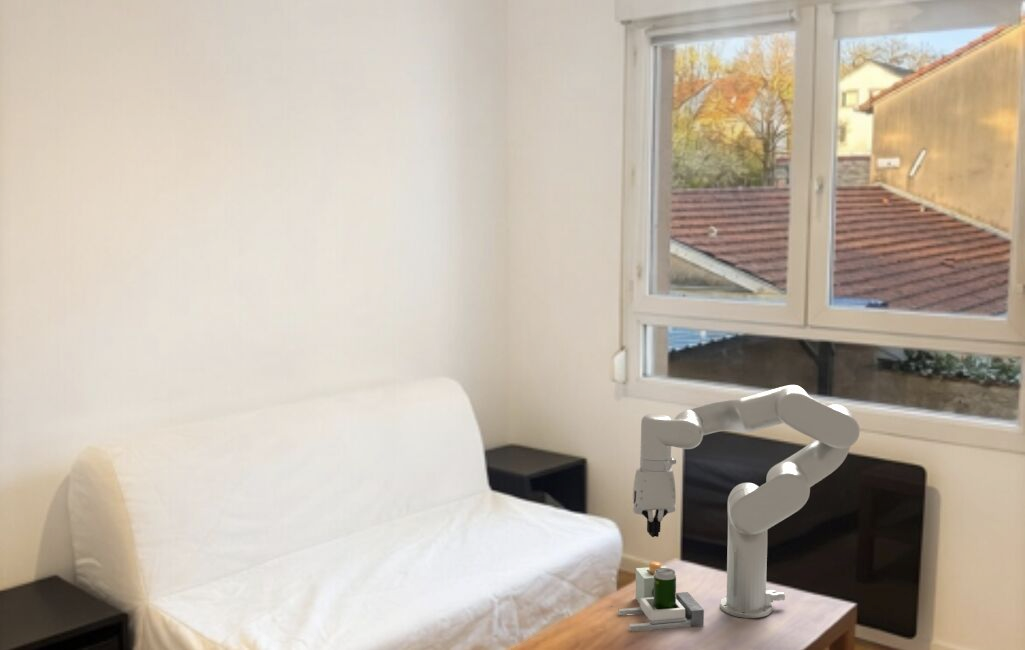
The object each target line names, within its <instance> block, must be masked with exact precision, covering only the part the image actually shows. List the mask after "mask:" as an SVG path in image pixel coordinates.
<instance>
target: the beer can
mask: <svg viewBox="0 0 1025 650" xmlns="http://www.w3.org/2000/svg"><path fill="white" fill-rule="evenodd" d="M676 593H677V574H676V571H675V570H674V569H673V568H668V567H667V568H659V569H656V570H655V573H654V610H660V609H672V608H676Z"/></svg>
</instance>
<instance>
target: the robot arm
mask: <svg viewBox="0 0 1025 650" xmlns="http://www.w3.org/2000/svg"><path fill="white" fill-rule="evenodd" d="M781 424H784V425H786V426H788V427H789V428H792V429H793V430H795V431H797V432H798V433H801V434H803V435H805V436H808V437H809V438H811V439H813V440H812V441H810V443H809V444H807V445H806V446H804V447H803V448H801V449H800V450H798V451H796V452H795V453H794V454H792V455H790V456H789V457H787V458H785V459H784V460H781V462H778V463H776V464H774V466H772V467H771V468H770V469H769V470H768V472H767V474H766V480H765V481H766V482H765V483H763V484H761V485H760V486H759V485H757V484H755V483H752V482H742V483H739V484H737V485H736V486H734V487H733V488H732V490H731V491H730V493H729V495H728V498H727V557H726V561H727V562H726V596H724V597H722V598H721V599H720V601H719V602H720V603H719V607H720V609H721V610H722V611H723V612H725V613H726V614H728V615H731V616H734V617H739V618H745V619H759V618H763V617H767V616H768V615H770V614H771V613H772V611H773V605H772V603H773V602H774V601H776V602H777V601H785V597H786V595H785V592H782V591H781V592H776V590H774V589H769V590H767V568H768V567H767V561H768V559H767V558H768V530H769V529H771V528H772V527H775V525H778V524H779V523H780V522H782V521H784V520H785V519H787V518H789V517H791V516H792V515H794V514H795V513H797V512H799V511H800V510H801V509H802V508H803V507H804V506H805V505H806V504H807V501H808V500H809V498H810V492H811V487H813V486H815V484H818V483H819V482H820V481H823V479H825V478H826V477H828V476H829V475H831V474H832V473H833V472H835V471H836V470H837V469H838V468H839V467H840V466H841V465H842V464H843V463H844V461H845V460H846V458H847V456H848V454H849V452H850V448H851V447H852V446H854V445H855V444H856V442H857V441H858V439H859V438H860V437H859V436H860V433H861V431H860V425H859V423H858V421H857V420H856V418H855V417H854V415H853V414H852V412H851V411H850V410H849V409H848V408H847V407H846V406H844V405H841V404H836V403H835V404H830V405H827V404H825V403H823V402H820V401H819V400H817V399H815V398H813V397H811V396H810V395H809V394H808V392H807V391H806V390H805V389H804V388H802V387H801V386H799V385H796V384H789V385H784V386H779V387H776V388H772V389H769V390H765V391H763V392H759V393H755V394H751V395H748V396H744V397H740V398H736V399H728V400H723V401H717V402H713V403H712V402H711V403H707V404H704V405H699V406H697V407H693V408H689V409H686V410H684V411H681V412H679V413H678V414H676V416H675V417H674V419H671V417H670V416H669V415H666V414H660V413H650V414H645V415H644V416H643V417H642V418H641V424H640V457H639V459H640V461H639V463H640V464H639V467H637V468H636V470H635V475H634V481H633V488H632V489H633V490H632V504H633V509H632V512H633V513H634V514H636V515H640V516H643V517H645V518H646V519H647V521H646V532H647V533H648V535H649V536H651V537H652V538H655V537H656V538H659V535H660V532H661V522H662V521H663V519H664V518H665V516H666V515H668V514H671V513H674V512H676V496H677V495H676V494H677V493H676V492H677V491H676V481H675V474H674V469H673V468H672V466H673V465H676V464H677V459H676V458H672V447H674V448H678V449H683V450H692V449H695V448H696V447H698V446H699V445H700V444H701V442H702V441H703V439H704V438H703V437H704V436H706V435H710V434H713V433H714V434H715V433H719V432H725V431H734V432H739V433H753V432H755V431H760V430H762V429H766V428H770V427H774V426H777V425H781Z"/></svg>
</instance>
